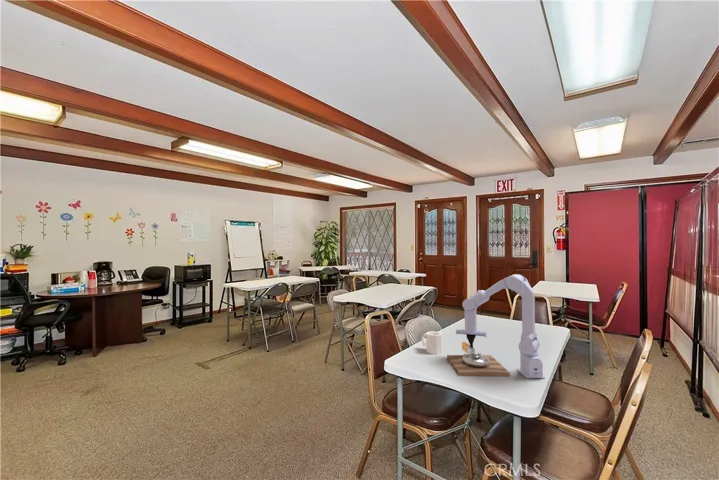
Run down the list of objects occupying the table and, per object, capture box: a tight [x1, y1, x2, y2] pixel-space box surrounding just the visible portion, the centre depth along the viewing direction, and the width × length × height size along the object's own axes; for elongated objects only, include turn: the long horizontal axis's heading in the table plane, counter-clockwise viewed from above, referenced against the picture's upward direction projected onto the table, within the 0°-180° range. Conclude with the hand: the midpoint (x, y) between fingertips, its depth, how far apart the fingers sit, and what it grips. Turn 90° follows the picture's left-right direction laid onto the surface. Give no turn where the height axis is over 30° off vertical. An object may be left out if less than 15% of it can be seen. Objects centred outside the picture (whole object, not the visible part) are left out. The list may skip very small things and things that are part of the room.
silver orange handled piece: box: [461, 341, 490, 367], centre depth 156 cm, size 20×12×6 cm, turn 6°
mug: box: [420, 330, 443, 355], centre depth 174 cm, size 12×9×10 cm
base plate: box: [446, 354, 511, 377], centre depth 152 cm, size 22×22×2 cm
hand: (471, 349), depth 161 cm, fingers closed, pressing on silver orange handled piece
